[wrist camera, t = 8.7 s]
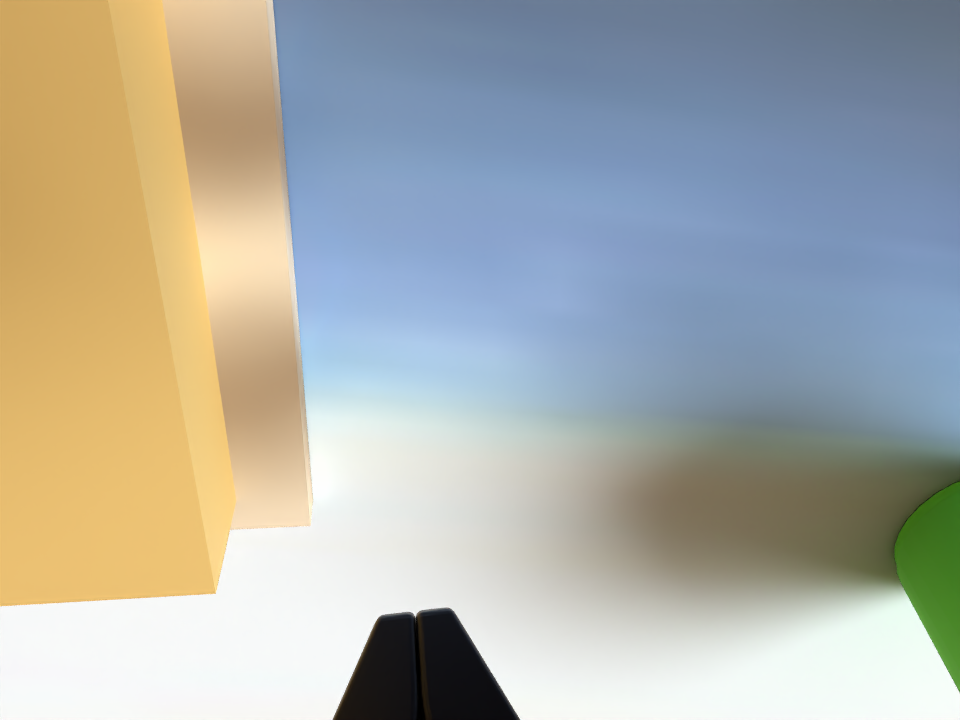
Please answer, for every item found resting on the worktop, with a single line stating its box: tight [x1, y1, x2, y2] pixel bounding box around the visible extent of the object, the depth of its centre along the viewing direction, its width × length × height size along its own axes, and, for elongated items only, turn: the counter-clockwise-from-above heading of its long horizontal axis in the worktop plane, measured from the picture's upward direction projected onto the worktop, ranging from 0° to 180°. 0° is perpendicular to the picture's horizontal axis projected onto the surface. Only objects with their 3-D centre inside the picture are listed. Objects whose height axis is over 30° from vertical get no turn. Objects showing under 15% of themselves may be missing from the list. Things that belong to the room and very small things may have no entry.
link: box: [0, 0, 236, 606], centre depth 13 cm, size 19×7×3 cm, turn 177°
